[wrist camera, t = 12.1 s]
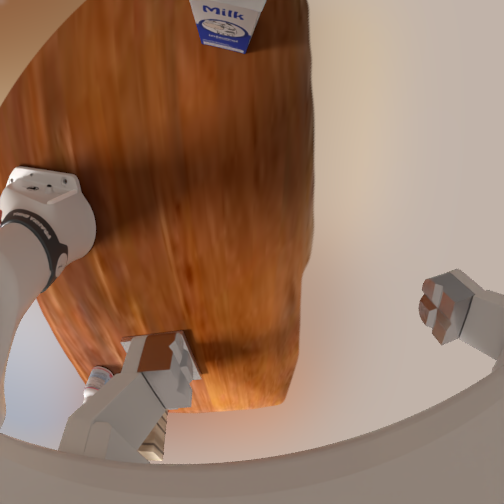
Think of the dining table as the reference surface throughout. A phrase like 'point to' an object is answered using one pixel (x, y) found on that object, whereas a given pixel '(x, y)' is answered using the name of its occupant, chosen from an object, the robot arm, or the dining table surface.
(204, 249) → the dining table surface
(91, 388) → the pill bottle
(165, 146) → the dining table surface
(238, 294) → the dining table surface
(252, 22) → the milk carton
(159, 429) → the post
